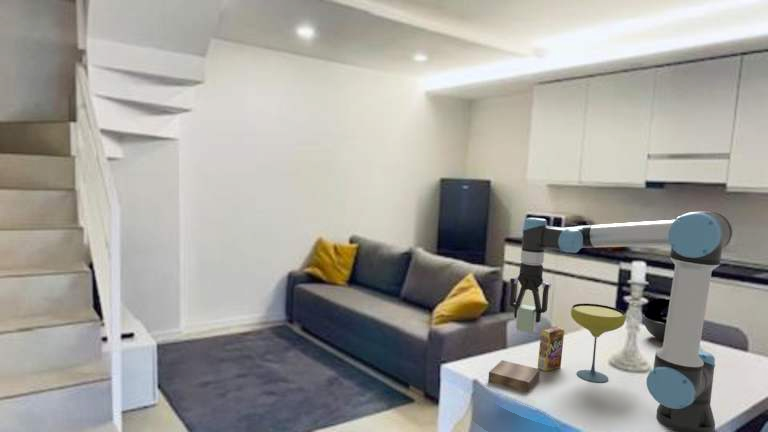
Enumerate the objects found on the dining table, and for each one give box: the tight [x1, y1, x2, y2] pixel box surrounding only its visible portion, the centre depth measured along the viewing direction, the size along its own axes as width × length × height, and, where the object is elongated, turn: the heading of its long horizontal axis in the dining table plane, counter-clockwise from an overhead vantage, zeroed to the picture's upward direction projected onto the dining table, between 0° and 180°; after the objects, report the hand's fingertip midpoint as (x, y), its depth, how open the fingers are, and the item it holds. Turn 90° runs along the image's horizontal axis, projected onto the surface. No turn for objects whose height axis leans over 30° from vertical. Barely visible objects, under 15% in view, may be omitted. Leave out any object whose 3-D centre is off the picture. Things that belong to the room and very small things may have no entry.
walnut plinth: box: [488, 360, 541, 393], centre depth 178 cm, size 14×14×4 cm
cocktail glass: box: [570, 303, 626, 384], centre depth 183 cm, size 18×18×25 cm
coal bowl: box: [642, 297, 670, 342], centre depth 229 cm, size 20×20×19 cm
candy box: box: [537, 326, 565, 372], centre depth 190 cm, size 9×4×15 cm, turn 123°
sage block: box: [516, 303, 536, 334], centre depth 174 cm, size 5×5×8 cm
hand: (526, 328), depth 174 cm, fingers closed on sage block, 5 cm apart
